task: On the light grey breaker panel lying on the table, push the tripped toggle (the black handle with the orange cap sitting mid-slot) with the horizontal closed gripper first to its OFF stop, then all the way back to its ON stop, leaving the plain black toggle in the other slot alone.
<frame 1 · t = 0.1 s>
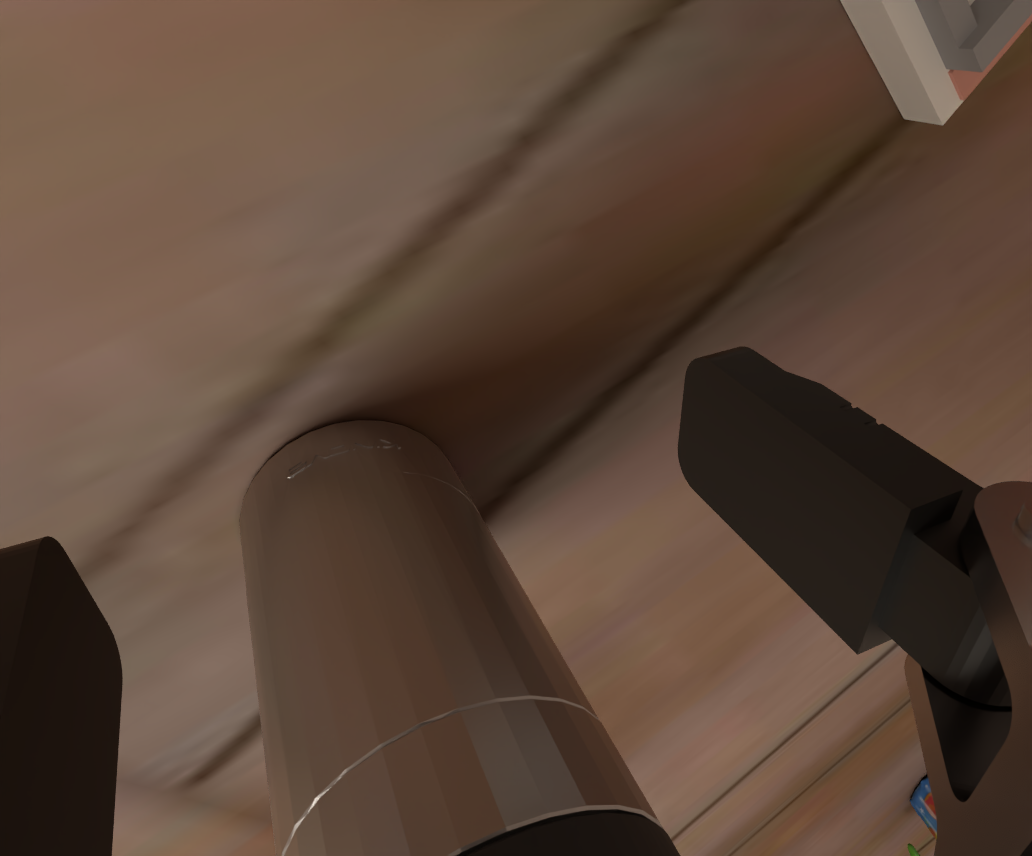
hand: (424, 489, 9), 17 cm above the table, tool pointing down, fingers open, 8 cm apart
snack cup: (932, 778, 79), on the table
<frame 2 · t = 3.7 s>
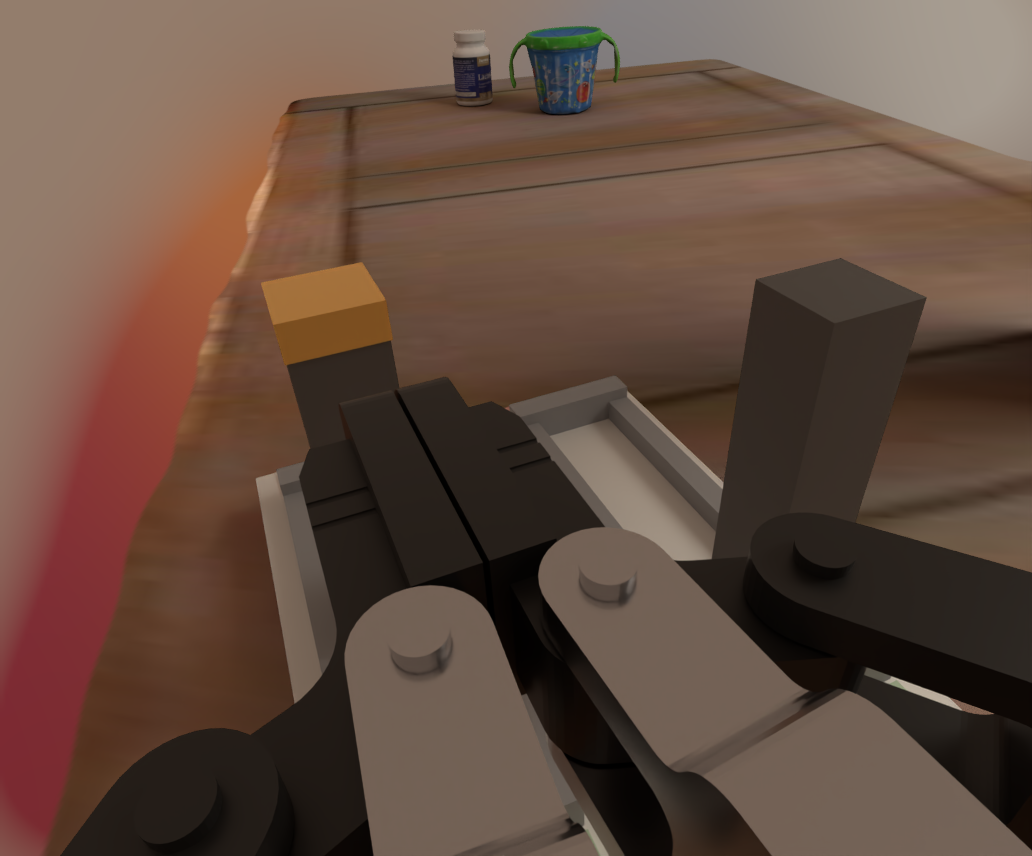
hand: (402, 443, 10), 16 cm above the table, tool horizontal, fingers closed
pill bottle: (475, 104, 110), on the table
panel: (539, 606, 28), on the table
breaker: (366, 482, 21), point 9 cm above the table, slide at 0.0 cm
snack cup: (564, 111, 102), on the table
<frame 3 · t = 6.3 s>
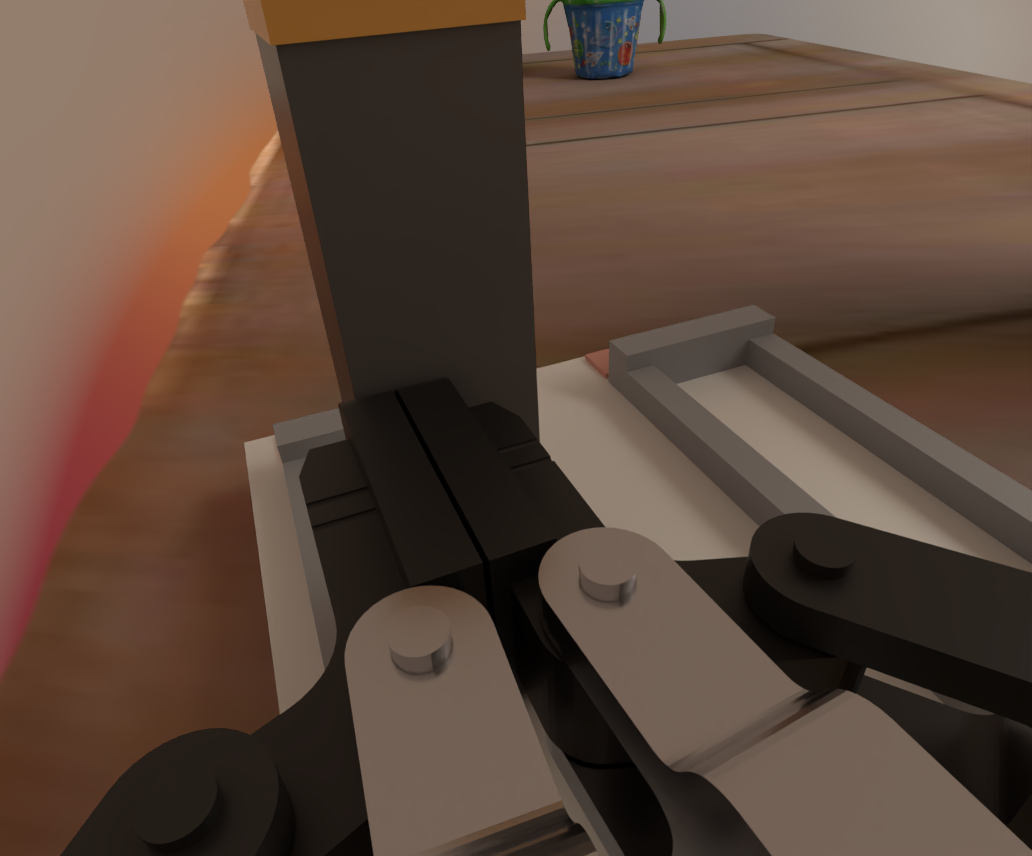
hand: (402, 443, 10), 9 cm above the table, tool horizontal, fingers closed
panel: (685, 636, 18), on the table
breaker: (432, 399, 11), point 9 cm above the table, slide at -0.1 cm, touching gripper
snack cup: (603, 77, 93), on the table
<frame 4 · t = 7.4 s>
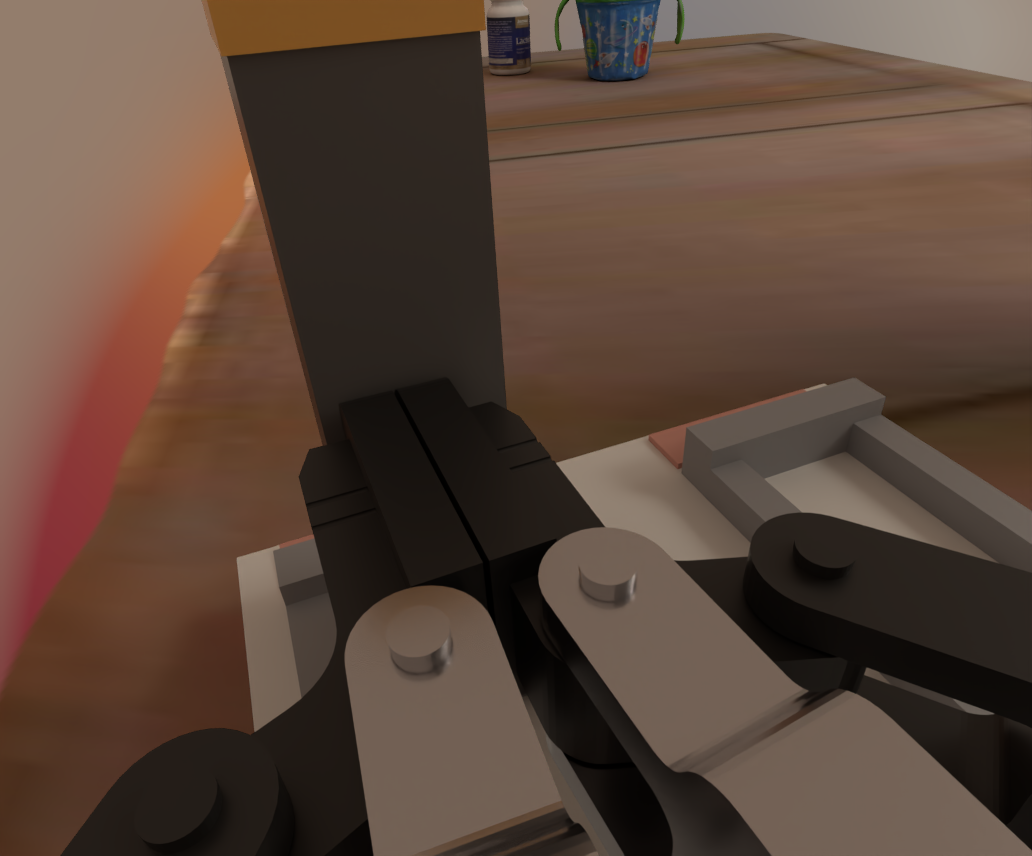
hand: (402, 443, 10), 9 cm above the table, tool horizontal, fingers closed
pill bottle: (510, 74, 96), on the table
breaker: (402, 409, 11), point 9 cm above the table, slide at -5.6 cm, touching gripper
snack cup: (617, 79, 88), on the table
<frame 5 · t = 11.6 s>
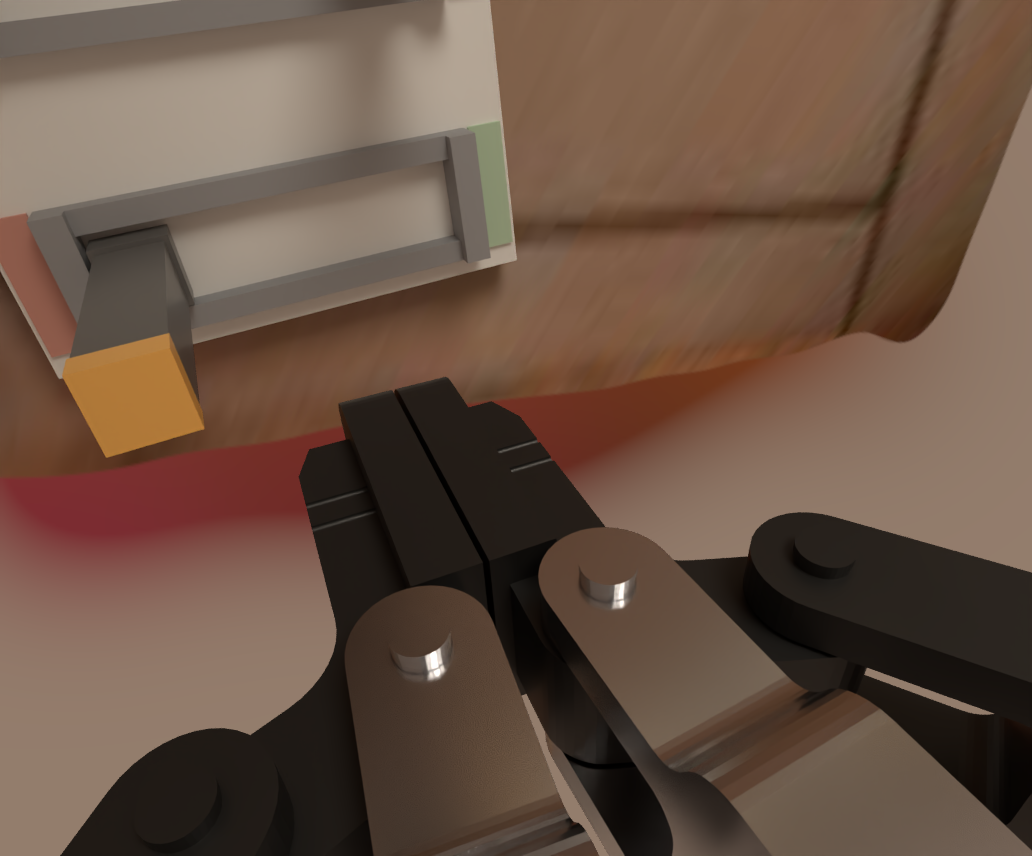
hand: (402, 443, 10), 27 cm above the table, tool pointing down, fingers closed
panel: (241, 94, 30), on the table
breaker: (140, 321, 24), point 9 cm above the table, slide at -6.0 cm
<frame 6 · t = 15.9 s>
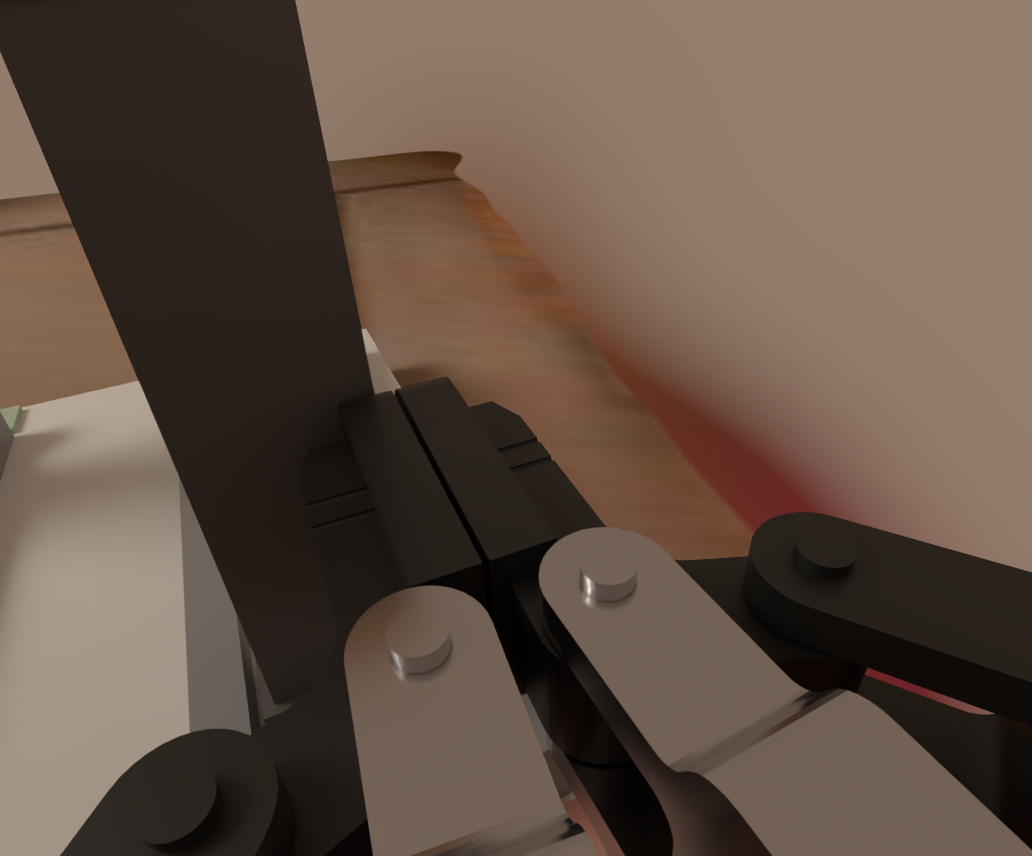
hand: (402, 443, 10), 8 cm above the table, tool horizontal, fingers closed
panel: (111, 654, 17), on the table
breaker: (273, 409, 10), point 9 cm above the table, slide at -5.3 cm, touching gripper
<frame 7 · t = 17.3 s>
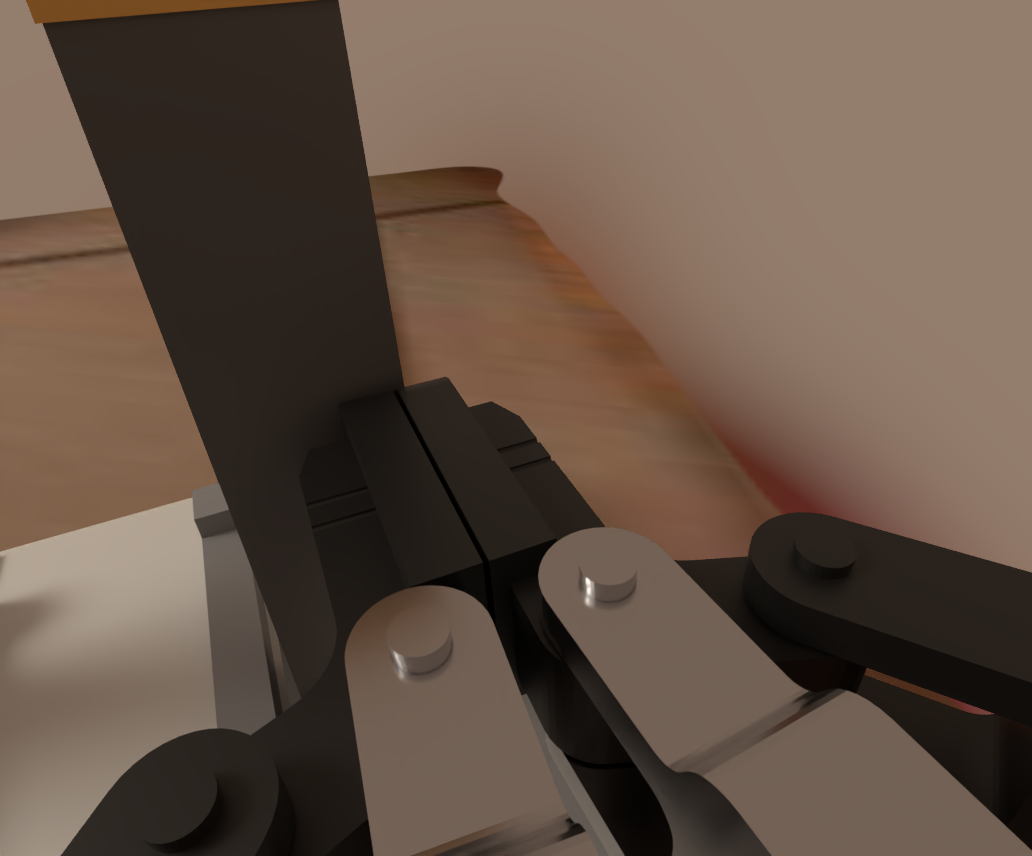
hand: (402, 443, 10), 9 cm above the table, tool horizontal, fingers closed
breaker: (304, 412, 10), point 9 cm above the table, slide at 2.8 cm, touching gripper
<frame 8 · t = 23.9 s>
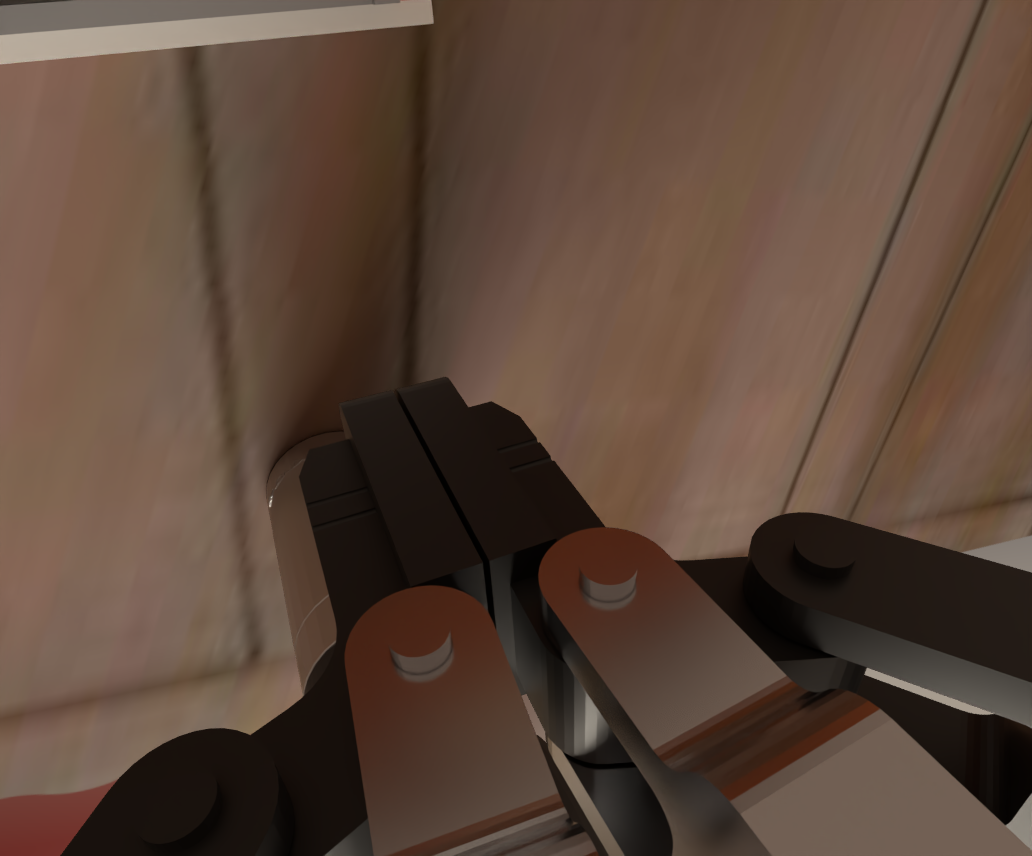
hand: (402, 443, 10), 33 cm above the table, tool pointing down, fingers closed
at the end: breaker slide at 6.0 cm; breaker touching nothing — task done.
